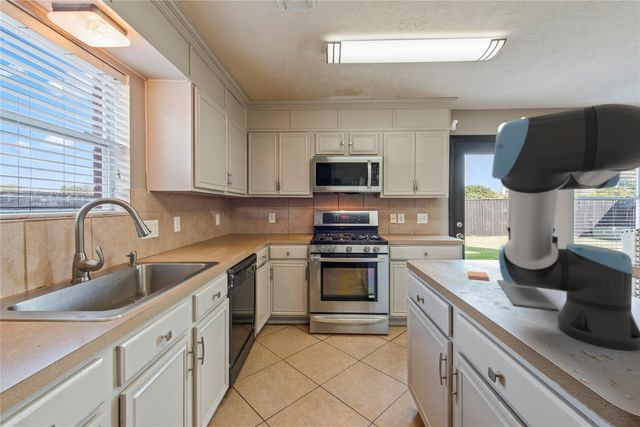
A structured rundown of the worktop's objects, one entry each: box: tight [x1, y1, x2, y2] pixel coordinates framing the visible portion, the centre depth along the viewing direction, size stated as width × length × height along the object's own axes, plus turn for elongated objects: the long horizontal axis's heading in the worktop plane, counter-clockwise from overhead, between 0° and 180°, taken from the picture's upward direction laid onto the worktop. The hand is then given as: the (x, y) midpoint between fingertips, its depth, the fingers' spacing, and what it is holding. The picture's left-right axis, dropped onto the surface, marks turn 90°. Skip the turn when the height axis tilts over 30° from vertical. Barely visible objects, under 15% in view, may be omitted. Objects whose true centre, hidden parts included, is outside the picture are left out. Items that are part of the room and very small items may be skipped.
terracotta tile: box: [466, 270, 490, 281], centre depth 122 cm, size 2×8×9 cm
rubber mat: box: [496, 279, 560, 312], centre depth 99 cm, size 30×12×1 cm, turn 154°
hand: (529, 274), depth 91 cm, fingers closed on steel trowel, 3 cm apart
